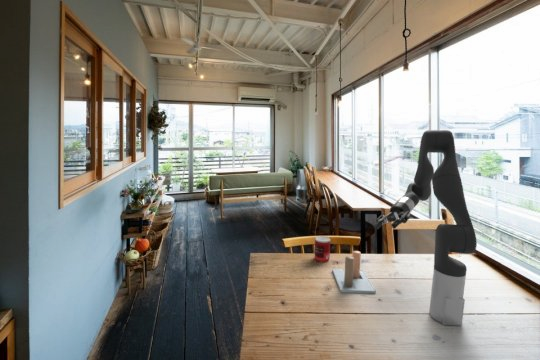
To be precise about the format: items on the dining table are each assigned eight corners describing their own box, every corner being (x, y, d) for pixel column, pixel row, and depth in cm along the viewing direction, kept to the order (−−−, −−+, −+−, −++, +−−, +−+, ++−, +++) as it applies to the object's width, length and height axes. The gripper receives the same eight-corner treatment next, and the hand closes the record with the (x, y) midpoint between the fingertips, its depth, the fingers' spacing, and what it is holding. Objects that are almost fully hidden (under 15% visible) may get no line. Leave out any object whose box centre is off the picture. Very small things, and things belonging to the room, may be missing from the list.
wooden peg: (360, 280, 121) (361, 254, 119) (352, 279, 121) (353, 253, 119) (358, 276, 124) (359, 250, 123) (350, 276, 125) (351, 250, 123)
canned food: (328, 256, 146) (329, 236, 144) (330, 262, 138) (331, 241, 136) (314, 255, 146) (314, 235, 145) (314, 262, 138) (315, 241, 137)
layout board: (375, 293, 111) (377, 262, 109) (340, 292, 111) (342, 261, 109) (362, 271, 128) (364, 245, 127) (332, 271, 129) (333, 244, 127)
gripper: (385, 203, 133) (367, 220, 125) (413, 199, 121) (394, 218, 113) (392, 216, 134) (374, 234, 125) (420, 214, 122) (402, 234, 113)
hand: (384, 227), depth 119 cm, fingers open, 8 cm apart
